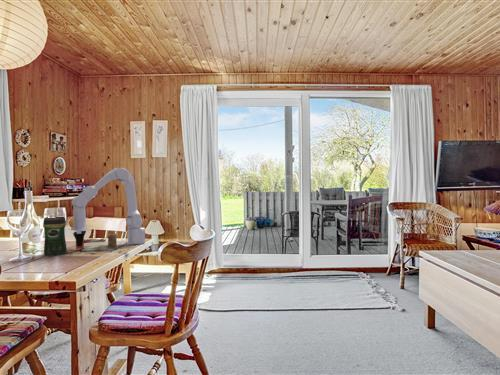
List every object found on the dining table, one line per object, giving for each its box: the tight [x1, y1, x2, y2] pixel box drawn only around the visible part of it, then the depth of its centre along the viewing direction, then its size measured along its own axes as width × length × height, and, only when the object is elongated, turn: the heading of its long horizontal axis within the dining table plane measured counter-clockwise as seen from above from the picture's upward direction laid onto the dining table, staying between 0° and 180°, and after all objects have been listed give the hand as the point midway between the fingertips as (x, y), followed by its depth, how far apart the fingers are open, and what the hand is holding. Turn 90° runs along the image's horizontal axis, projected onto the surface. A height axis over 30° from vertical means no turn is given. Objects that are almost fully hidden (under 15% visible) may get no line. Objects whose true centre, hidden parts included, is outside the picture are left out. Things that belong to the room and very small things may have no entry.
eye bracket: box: [81, 232, 119, 253], centre depth 180 cm, size 17×12×7 cm
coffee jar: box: [42, 216, 68, 257], centre depth 166 cm, size 10×8×19 cm
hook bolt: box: [75, 237, 107, 250], centre depth 178 cm, size 14×4×6 cm, turn 114°
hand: (79, 245), depth 176 cm, fingers closed on hook bolt, 4 cm apart
